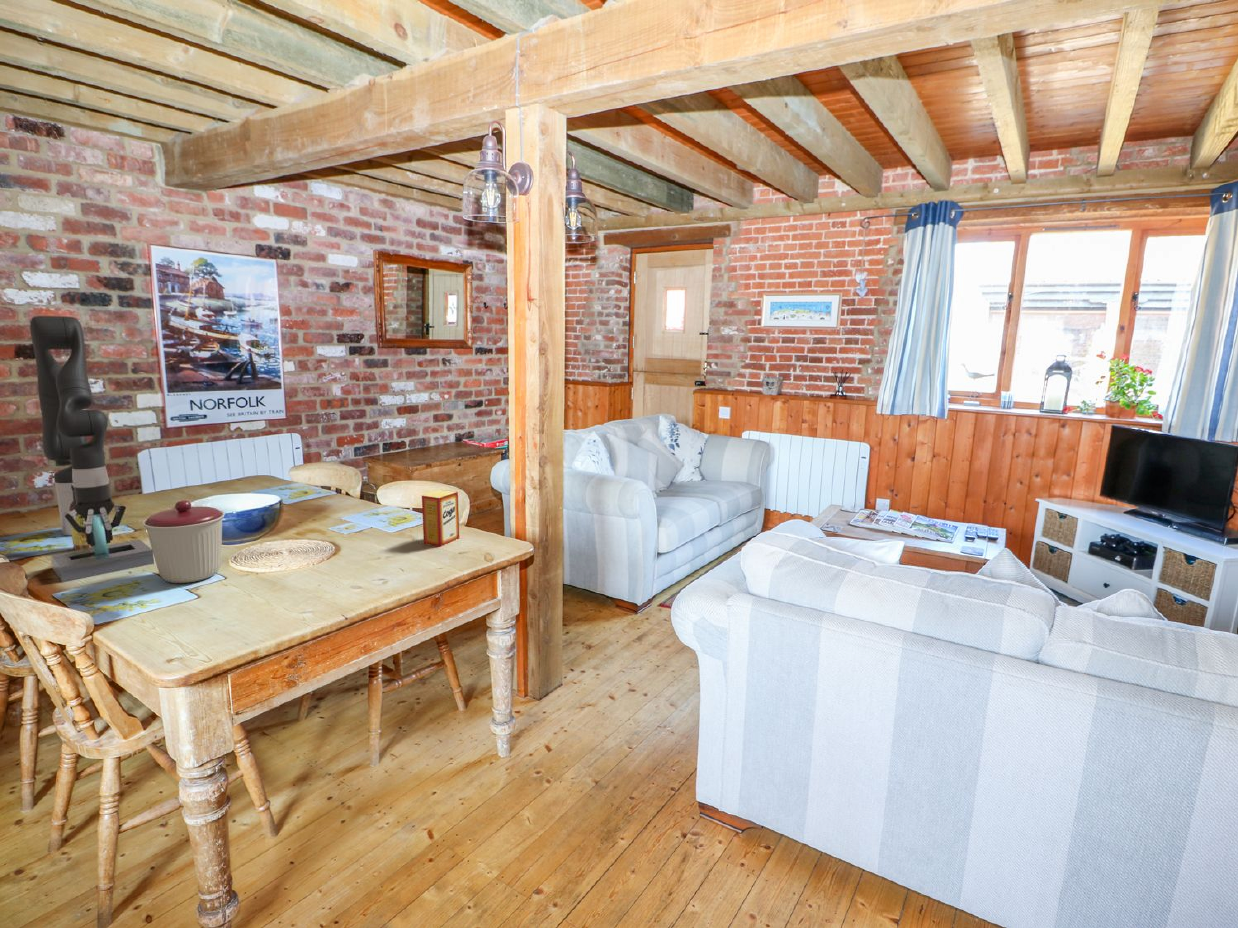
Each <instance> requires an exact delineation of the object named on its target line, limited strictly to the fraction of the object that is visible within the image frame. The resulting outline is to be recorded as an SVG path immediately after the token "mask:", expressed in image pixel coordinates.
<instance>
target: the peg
mask: <svg viewBox="0 0 1238 928" xmlns="http://www.w3.org/2000/svg"><path fill="white" fill-rule="evenodd" d="M91 532H92V533H93V539H94V552H95V556H97V555H102V554H107V553H109V552H108V545H109V544H108V543H107V538H106V531H105V524H104V521H103V518H102V516H101V514H96V515H93V522H92V529H91Z"/></svg>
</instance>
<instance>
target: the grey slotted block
mask: <svg viewBox="0 0 1238 928" xmlns="http://www.w3.org/2000/svg"><path fill="white" fill-rule="evenodd" d="M107 545H108V552H109V553H107V554H102V555H97V556H95V552H94V547H93V548H88V549H82V550H73V551H71V550H70V551H67V552H60V553H56V554H55V553H54V554H51V555H50V557H51V558H50V559H51V565H52V570H53V571H54V572H55V574H56V575H57V576H58V578H59V580H60V581H61V582H62V583H67V582H70V581H76V580H80V579H86V578H90V577H95V576H100V575H104V574H108V573H113V572H114V573H115V572H119V571H123V570H128V569H133V568H137V567H143V566H148V565H154V564H155V558H154V555H153V551H152V547H151V546H150V547H149V546H148V545H147V544H146V543H145V542H144V541H142V540H141V539H139V538H138V539H133V540H127V541H122V542H116V543H112V544H111V543H109V544H107Z"/></svg>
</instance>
